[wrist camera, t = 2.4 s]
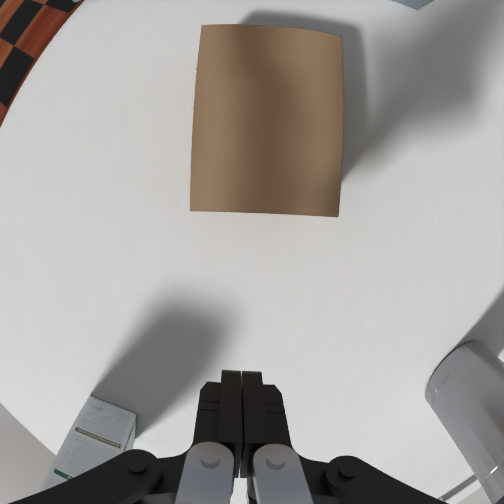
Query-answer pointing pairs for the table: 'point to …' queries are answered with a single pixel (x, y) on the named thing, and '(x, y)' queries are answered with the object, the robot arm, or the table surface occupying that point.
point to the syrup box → (92, 440)
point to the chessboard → (26, 40)
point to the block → (267, 121)
